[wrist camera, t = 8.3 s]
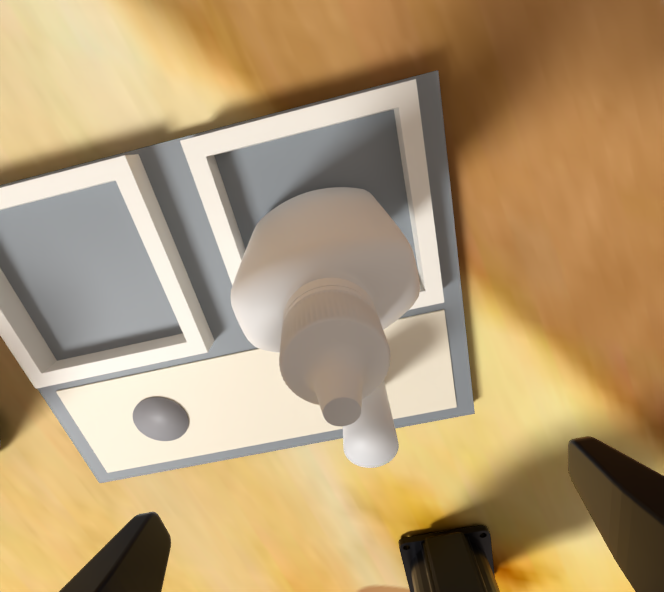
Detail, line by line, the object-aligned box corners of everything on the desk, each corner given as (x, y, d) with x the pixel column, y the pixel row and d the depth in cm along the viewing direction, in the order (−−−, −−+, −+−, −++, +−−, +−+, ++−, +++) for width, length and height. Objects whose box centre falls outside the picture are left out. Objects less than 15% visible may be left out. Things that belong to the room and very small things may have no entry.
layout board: (469, 404, 23) (513, 487, 17) (106, 472, 25) (43, 567, 19) (433, 73, 16) (487, 39, 10) (-65, 204, 18) (-237, 232, 12)
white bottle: (363, 279, 19) (444, 502, 8) (251, 259, 18) (175, 480, 7) (387, 192, 17) (533, 333, 6) (263, 165, 16) (187, 276, 5)
